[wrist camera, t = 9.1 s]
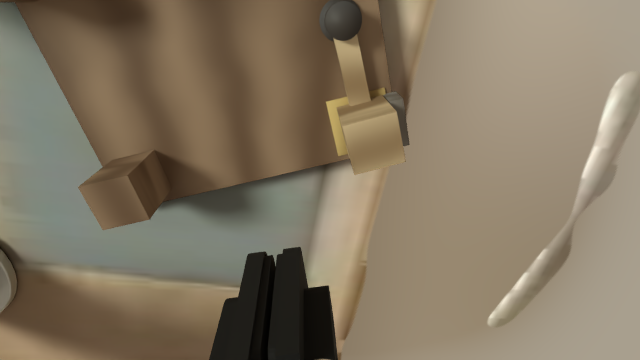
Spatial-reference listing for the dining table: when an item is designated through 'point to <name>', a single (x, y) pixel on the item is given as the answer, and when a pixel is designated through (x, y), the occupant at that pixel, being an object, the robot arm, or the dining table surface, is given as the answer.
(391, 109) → the swing leg
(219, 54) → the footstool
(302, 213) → the dining table surface
